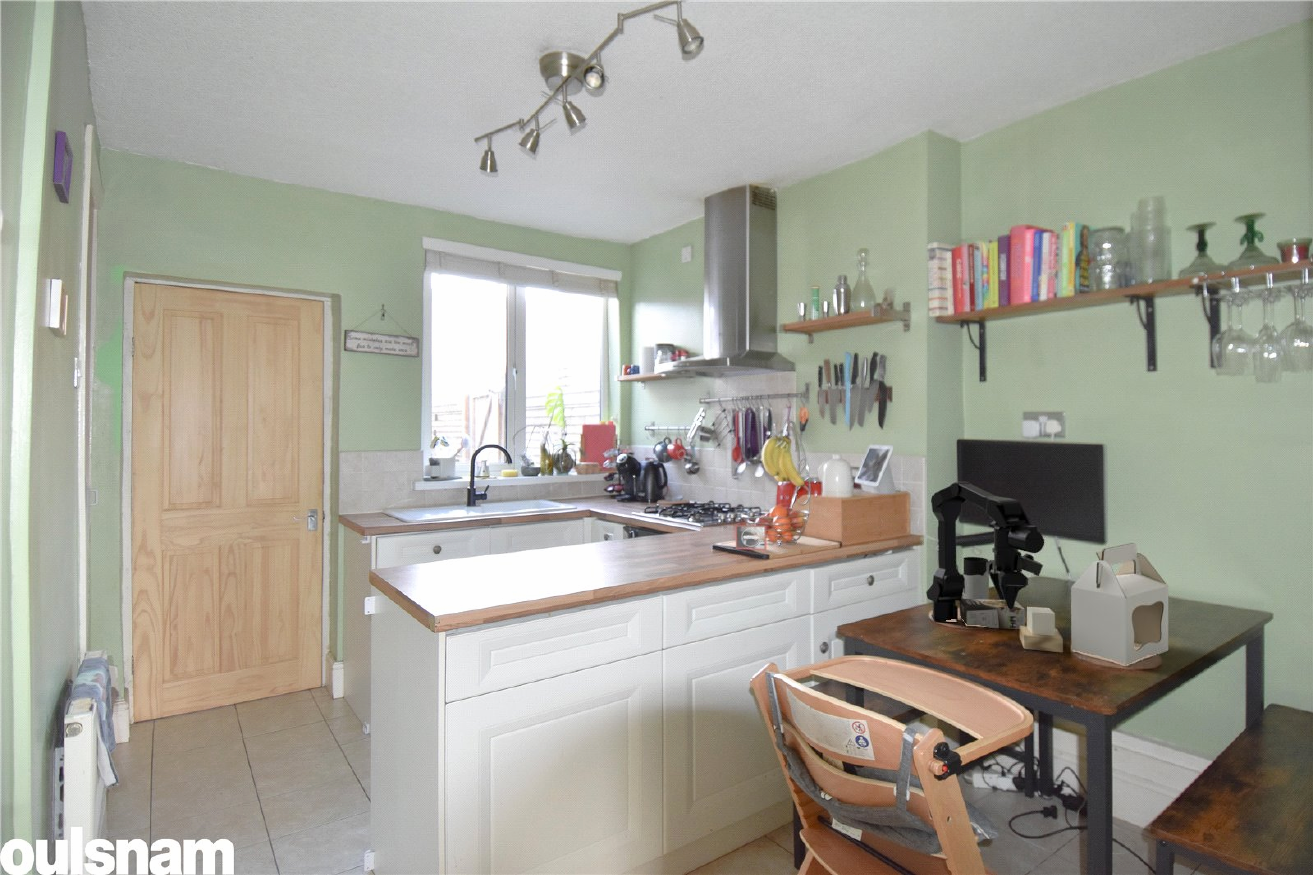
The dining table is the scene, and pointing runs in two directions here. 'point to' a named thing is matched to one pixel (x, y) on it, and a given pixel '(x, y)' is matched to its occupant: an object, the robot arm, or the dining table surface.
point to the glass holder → (975, 578)
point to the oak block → (1041, 641)
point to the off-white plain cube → (1041, 621)
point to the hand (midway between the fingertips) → (1006, 604)
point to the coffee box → (992, 613)
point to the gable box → (1120, 607)
